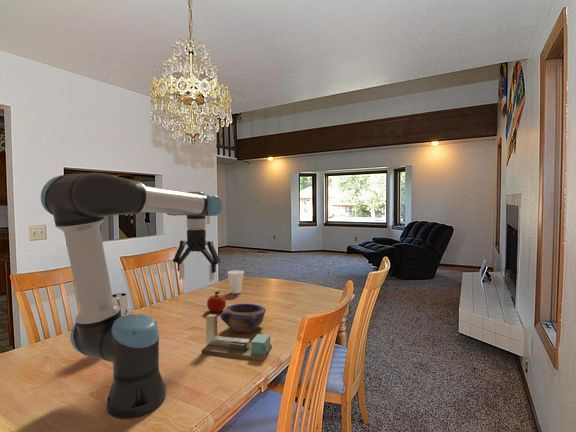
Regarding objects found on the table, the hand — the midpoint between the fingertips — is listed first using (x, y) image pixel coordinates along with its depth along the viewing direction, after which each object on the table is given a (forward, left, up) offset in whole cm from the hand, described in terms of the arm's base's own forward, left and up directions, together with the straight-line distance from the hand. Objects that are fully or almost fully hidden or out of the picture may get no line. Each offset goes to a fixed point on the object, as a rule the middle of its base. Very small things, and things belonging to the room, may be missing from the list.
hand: (196, 279), depth 134 cm
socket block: (-7, -31, -23) cm, 39 cm away
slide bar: (-7, -17, -23) cm, 30 cm away
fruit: (+31, +7, -24) cm, 40 cm away
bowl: (+13, -16, -24) cm, 32 cm away
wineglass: (-14, +26, -24) cm, 38 cm away
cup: (+65, +11, -24) cm, 70 cm away
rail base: (-7, -21, -24) cm, 33 cm away
